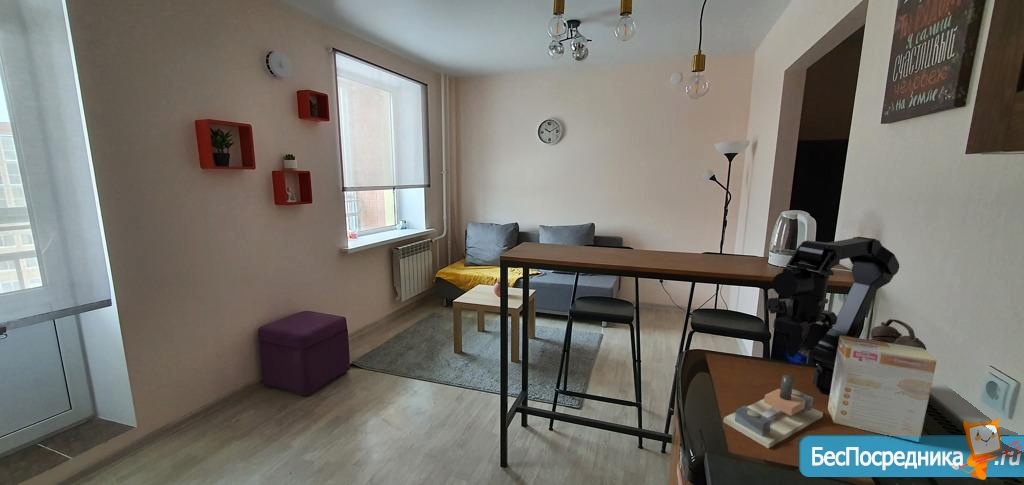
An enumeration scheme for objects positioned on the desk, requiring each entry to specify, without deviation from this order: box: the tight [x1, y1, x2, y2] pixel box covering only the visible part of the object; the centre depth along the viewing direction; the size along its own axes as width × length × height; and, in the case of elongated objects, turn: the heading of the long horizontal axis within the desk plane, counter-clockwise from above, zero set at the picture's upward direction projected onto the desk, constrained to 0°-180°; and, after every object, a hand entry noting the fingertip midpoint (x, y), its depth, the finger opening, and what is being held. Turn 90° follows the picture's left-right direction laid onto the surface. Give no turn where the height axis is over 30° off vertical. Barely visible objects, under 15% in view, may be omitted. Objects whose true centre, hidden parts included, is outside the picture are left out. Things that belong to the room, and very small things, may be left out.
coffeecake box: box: [827, 335, 938, 438], centre depth 90 cm, size 15×7×20 cm, turn 62°
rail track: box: [723, 388, 824, 449], centre depth 92 cm, size 23×10×4 cm, turn 119°
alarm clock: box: [869, 318, 927, 351], centre depth 103 cm, size 15×7×20 cm, turn 168°
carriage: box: [763, 374, 806, 415], centre depth 94 cm, size 6×6×7 cm
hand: (800, 353), depth 98 cm, fingers open, 9 cm apart
